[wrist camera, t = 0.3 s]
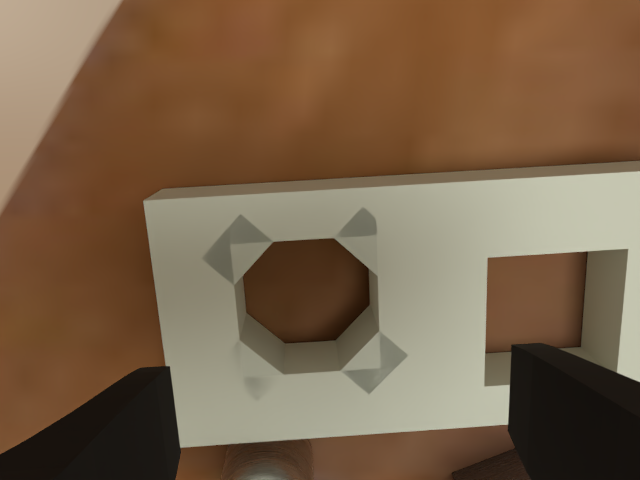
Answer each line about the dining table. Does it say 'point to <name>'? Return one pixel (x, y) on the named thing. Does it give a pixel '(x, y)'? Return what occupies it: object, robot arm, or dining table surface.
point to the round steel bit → (269, 461)
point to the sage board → (382, 295)
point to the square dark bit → (495, 469)
